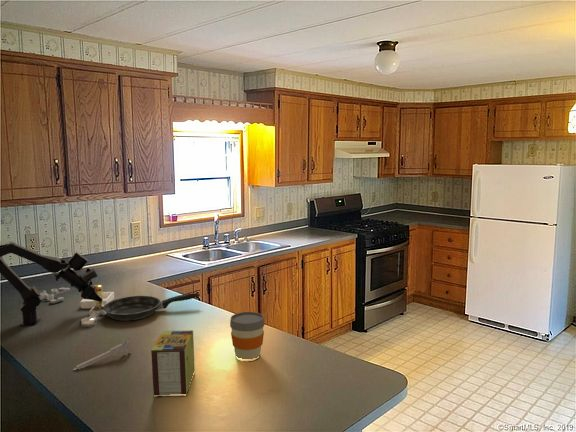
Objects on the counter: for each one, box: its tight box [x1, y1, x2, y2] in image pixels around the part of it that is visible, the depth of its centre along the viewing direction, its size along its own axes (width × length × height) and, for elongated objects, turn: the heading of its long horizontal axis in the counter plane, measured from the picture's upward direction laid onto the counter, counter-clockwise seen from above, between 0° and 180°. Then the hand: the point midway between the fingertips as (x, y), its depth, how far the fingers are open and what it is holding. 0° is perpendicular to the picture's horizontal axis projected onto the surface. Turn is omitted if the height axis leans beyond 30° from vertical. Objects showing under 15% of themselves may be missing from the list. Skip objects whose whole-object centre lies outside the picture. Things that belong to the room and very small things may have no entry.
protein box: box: [150, 330, 196, 396], centre depth 149 cm, size 10×15×16 cm
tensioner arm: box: [80, 306, 107, 328], centre depth 210 cm, size 21×7×2 cm, turn 6°
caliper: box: [72, 338, 132, 372], centre depth 167 cm, size 20×1×6 cm, turn 131°
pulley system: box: [39, 287, 70, 305], centre depth 242 cm, size 27×5×15 cm
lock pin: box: [92, 284, 104, 311], centre depth 217 cm, size 4×4×13 cm
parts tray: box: [80, 291, 115, 309], centre depth 231 cm, size 14×12×4 cm
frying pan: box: [103, 292, 201, 322], centre depth 218 cm, size 44×25×7 cm, turn 107°
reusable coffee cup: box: [229, 311, 266, 359], centre depth 170 cm, size 13×13×15 cm
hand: (100, 297), depth 217 cm, fingers open, 9 cm apart
